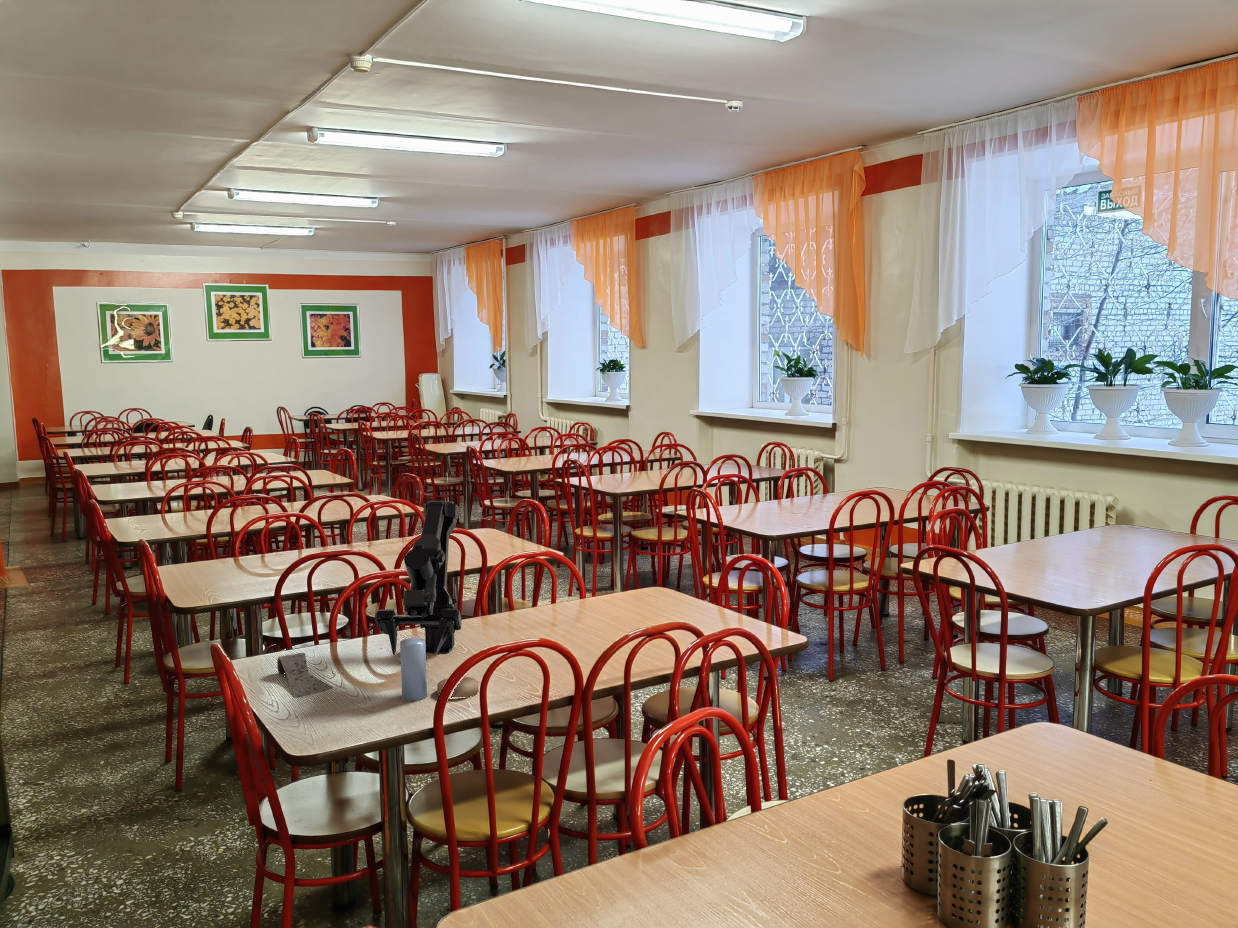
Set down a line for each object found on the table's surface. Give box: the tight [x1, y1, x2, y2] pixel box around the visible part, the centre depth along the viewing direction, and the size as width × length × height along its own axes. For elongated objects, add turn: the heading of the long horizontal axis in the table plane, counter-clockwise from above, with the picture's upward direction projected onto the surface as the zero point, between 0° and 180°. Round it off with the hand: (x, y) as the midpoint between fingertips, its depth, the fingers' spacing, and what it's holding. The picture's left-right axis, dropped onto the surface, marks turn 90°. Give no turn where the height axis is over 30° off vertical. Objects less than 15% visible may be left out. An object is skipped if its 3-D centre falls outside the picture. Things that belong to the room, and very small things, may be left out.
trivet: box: [436, 676, 479, 698], centre depth 209 cm, size 9×9×2 cm
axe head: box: [276, 652, 334, 699], centre depth 216 cm, size 21×5×10 cm
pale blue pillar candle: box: [399, 637, 428, 702], centre depth 206 cm, size 5×5×12 cm
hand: (414, 653), depth 207 cm, fingers open, 9 cm apart
